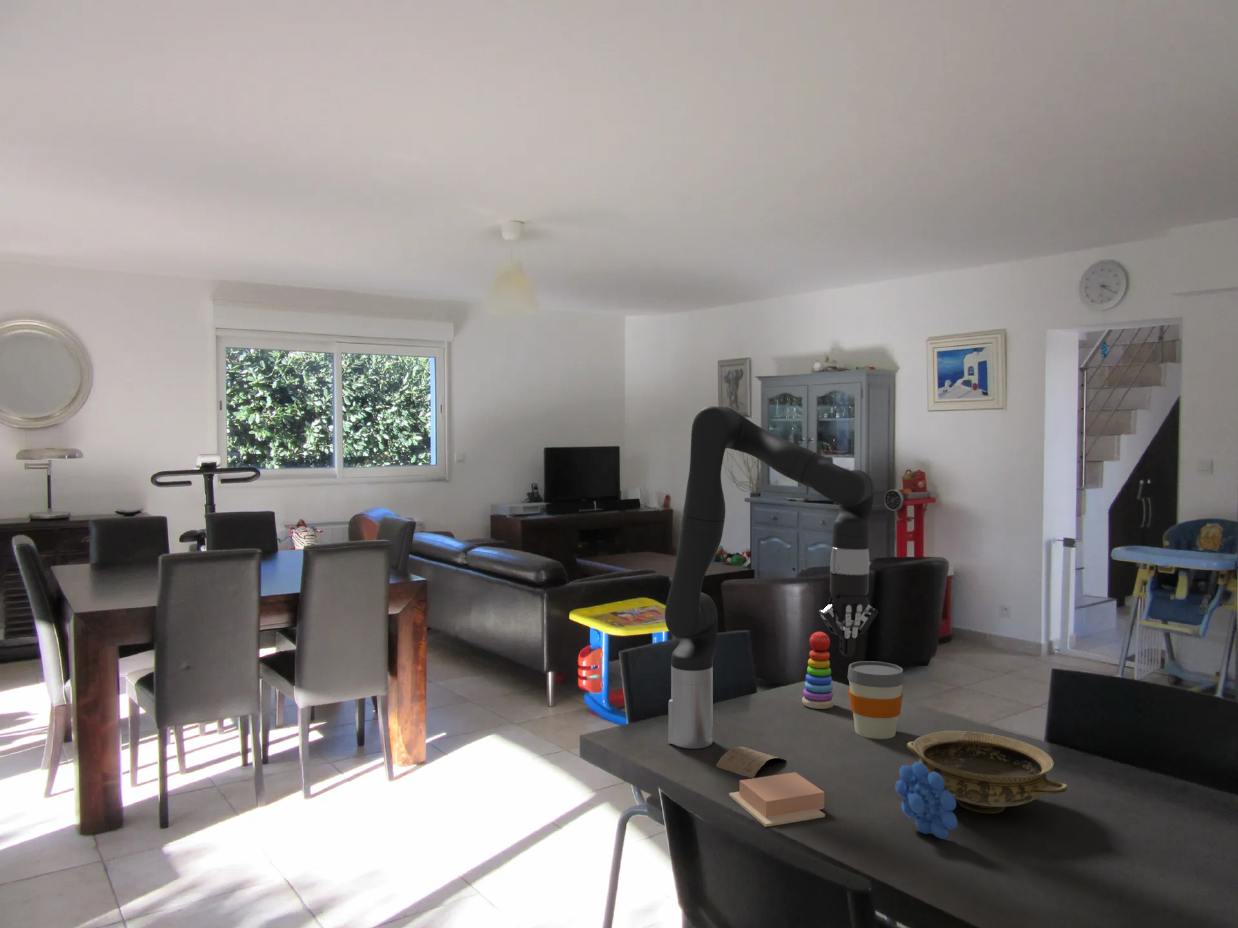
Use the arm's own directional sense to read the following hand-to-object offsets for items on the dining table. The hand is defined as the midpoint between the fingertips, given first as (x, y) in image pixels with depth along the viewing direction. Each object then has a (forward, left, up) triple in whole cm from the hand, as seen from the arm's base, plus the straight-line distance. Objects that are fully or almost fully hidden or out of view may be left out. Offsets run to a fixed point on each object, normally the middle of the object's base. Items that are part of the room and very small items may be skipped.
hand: (846, 655), depth 171 cm
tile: (-5, -15, -22) cm, 27 cm away
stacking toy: (-11, +44, -25) cm, 52 cm away
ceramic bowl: (+25, -6, -25) cm, 35 cm away
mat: (-11, -20, -24) cm, 33 cm away
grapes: (+15, -23, -25) cm, 36 cm away
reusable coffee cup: (+4, +28, -25) cm, 38 cm away
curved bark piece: (-19, -1, -25) cm, 32 cm away
